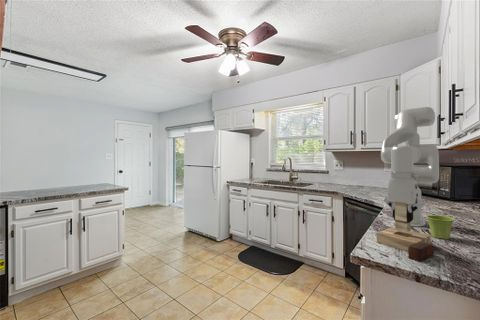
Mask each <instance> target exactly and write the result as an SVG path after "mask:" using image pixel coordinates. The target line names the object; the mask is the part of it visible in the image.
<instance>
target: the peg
mask: <svg viewBox="0 0 480 320" xmlns="http://www.w3.org/2000/svg"><path fill="white" fill-rule="evenodd" d="M407 212H408V208H407V204H406V203H403V202H396V201H395V220H394V228H395V230H397V231H401V232H406V233H407V232H409V231H412V229H411V227H412V226H411V224H410V222H407Z"/></svg>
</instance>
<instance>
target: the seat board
mask: <svg viewBox="0 0 480 320" xmlns="http://www.w3.org/2000/svg"><path fill="white" fill-rule="evenodd" d="M420 241H422V242H426V243H429V244H431V243H432V242H431V241H432V240H431V234H430V235H429V234H427V233H426V234H425V233H421V232H418V231H417V232H416V231H413V230H411V231H409V232H407V233H406V232H401V231H397V230H395V226H394V227H393V226H391V227H388V228H386V229H383V230H380V231H378V232H376V243H377V244H381V245H384V246H387V247H393V248H396V249H399V250H402V251H406V252H408V248H409V246H410V245H412V244H415V243H418V242H420ZM431 245H432V244H431Z"/></svg>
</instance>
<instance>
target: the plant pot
mask: <svg viewBox="0 0 480 320" xmlns="http://www.w3.org/2000/svg"><path fill="white" fill-rule="evenodd" d="M426 219H427V221H428V226H429V230H430V236H431V237H433V238H434V239H442V240H450V238H451V231H452V225H453V223H454V221H455V219H454V218H453V217H449V216H444V215H436V214H435V215H434V214H431V215H429V214H428V215H426Z"/></svg>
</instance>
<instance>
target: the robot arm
mask: <svg viewBox="0 0 480 320" xmlns="http://www.w3.org/2000/svg"><path fill="white" fill-rule="evenodd" d="M435 122H436V112H435V110H434V109H433V108H432V107H430V106H424V107H415V108H408V109H403V110H401V111H400V112H398V113H397V114H396V115H394V116H393V124H394V127H395V129H394V131H393V132H391V133H390V134H389V135H387V137H385V138H384V139H383V142H382V144H381V150H380V159H381V161H382V163H384V164H390V177H391V178H389V180H388V184H387V195H386V197H384V199H383V202H384V203H385V204H386V205H388V207H390V209H391V210H392V217H393V220H394V221H395V201H396V202H403V203H406V204H407V208H408V212H407V222H410V224H411V227H425V226H426V225H427V224H426V222H425V221H423V220H422V219H423V218H422V217H423V216H422V215H423V214H422V210H423V209H422V208H423V207H424V205H425V204H424V203H423V202H422V190H421V189H420V186H419V185H418V184H437V182H439V180H440V159H439V158H440V153H439V149H438V147H437V146H436V145H435V144H432V143H425V144H421V142H420V139H421V138H420V137H421V136H420V134H419V133H418V128H421V127H431V126H433V125H435ZM396 145H399V146H396ZM416 163H426V164H416Z"/></svg>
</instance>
